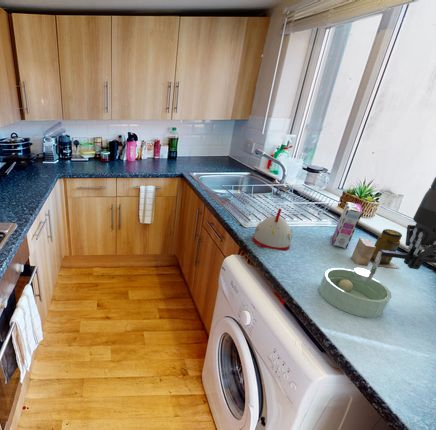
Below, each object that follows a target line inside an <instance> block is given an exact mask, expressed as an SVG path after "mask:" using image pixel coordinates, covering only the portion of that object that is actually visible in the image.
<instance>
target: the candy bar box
mask: <svg viewBox="0 0 436 430" xmlns="http://www.w3.org/2000/svg"><path fill="white" fill-rule="evenodd" d="M362 209H363V208H362V204H360V203H357V202H350V201H346V203H345V205H344V208H343V210H342V212H341V215H340V217H339V220H338V223H337V225H336V227H335V229H334V232H333V235H332V246H334V247H336V248H340V249H344V250H347V249H348V247H349V244H350V243H351V240H352V237H353V236H354V233H355V231H356V228H357V226H358V225H359V222H360V219H361V217H362V215H363V210H362Z"/></svg>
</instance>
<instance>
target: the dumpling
mask: <svg viewBox="0 0 436 430" xmlns="http://www.w3.org/2000/svg"><path fill="white" fill-rule="evenodd" d="M338 286H339V288H340V289H342V290H344V291H350V290H351V289H352V288H353V284H352V282H350V281H349V280H346V279H343V280H340V281H339V283H338Z"/></svg>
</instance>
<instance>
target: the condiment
mask: <svg viewBox="0 0 436 430" xmlns="http://www.w3.org/2000/svg"><path fill="white" fill-rule="evenodd" d="M402 237H403V234H402V232H400V231H397V230H395V229H389V228H385V229H382V231H381V233H380V235H378V237H377V239H376V241H375V243H374V244H373V245H374V246H375V247H376V249H375V251H374V253H373V255H372V257H371V259H370V262H372V264H374V261H375V259H376V256H377V254H378V252H379V251H380V250H387V251H395V252H397V250H398V248H399V246H400V244H401V239H402ZM393 258H394V257H387V256H382V258H381V260H380V263H379V265H378V267H383V268H389V269H399V267H398V265H396V264H395V263H394V262H392V260H393Z"/></svg>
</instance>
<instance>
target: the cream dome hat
mask: <svg viewBox="0 0 436 430" xmlns="http://www.w3.org/2000/svg"><path fill="white" fill-rule="evenodd" d="M281 212H282V208H278V210H277V213H276V215H271V216H269V217H266V218H265V219H264V220H262V222H261V221H260V222H258V224H257V225H256V227H255V229H254V232H253V235H252V241H253V243H254V244H255V245H257V246H259V247H260V248H266V249H271V250H276V251H282V252H285V251H287V250H289V249H290V247H291V244H292V239H293V230H292V229H291V228H290V226H289V223H288V222H287V221H286V219H285V218H283V217H282V216H281Z"/></svg>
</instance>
